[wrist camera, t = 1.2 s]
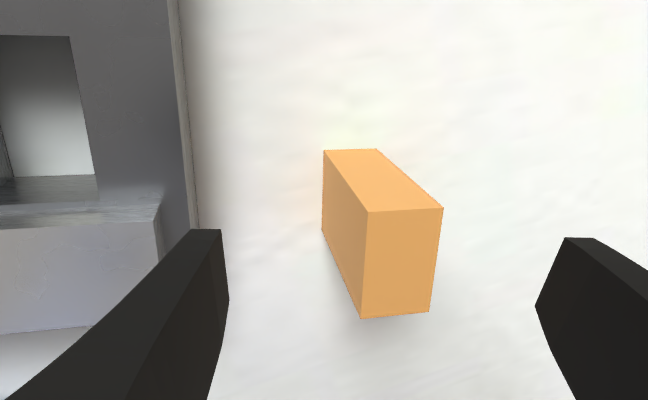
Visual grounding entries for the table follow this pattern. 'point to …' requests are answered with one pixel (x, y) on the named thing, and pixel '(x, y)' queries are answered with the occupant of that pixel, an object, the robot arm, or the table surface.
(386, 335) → the table surface
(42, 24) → the grey slotted base box
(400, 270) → the tall orange box
